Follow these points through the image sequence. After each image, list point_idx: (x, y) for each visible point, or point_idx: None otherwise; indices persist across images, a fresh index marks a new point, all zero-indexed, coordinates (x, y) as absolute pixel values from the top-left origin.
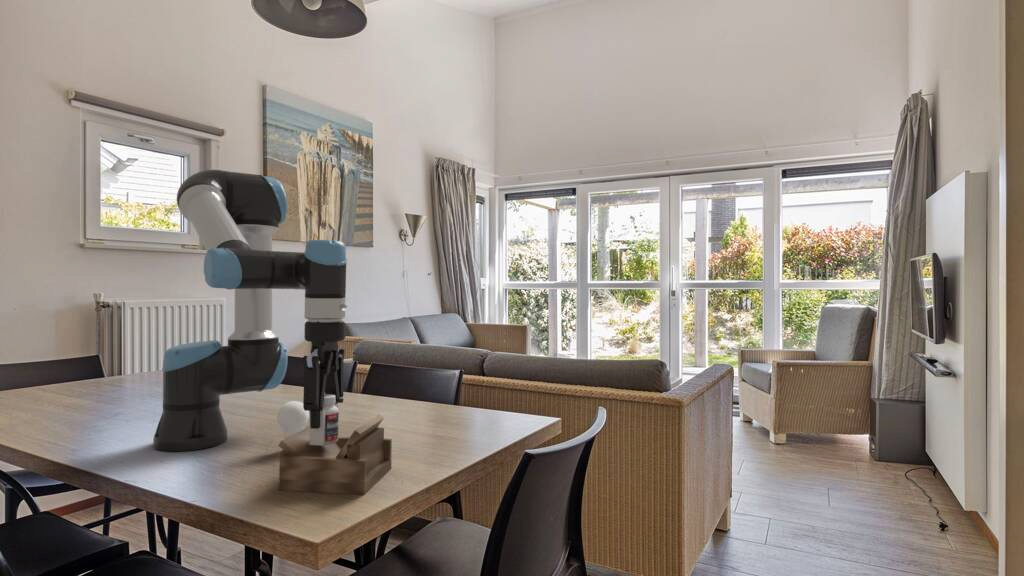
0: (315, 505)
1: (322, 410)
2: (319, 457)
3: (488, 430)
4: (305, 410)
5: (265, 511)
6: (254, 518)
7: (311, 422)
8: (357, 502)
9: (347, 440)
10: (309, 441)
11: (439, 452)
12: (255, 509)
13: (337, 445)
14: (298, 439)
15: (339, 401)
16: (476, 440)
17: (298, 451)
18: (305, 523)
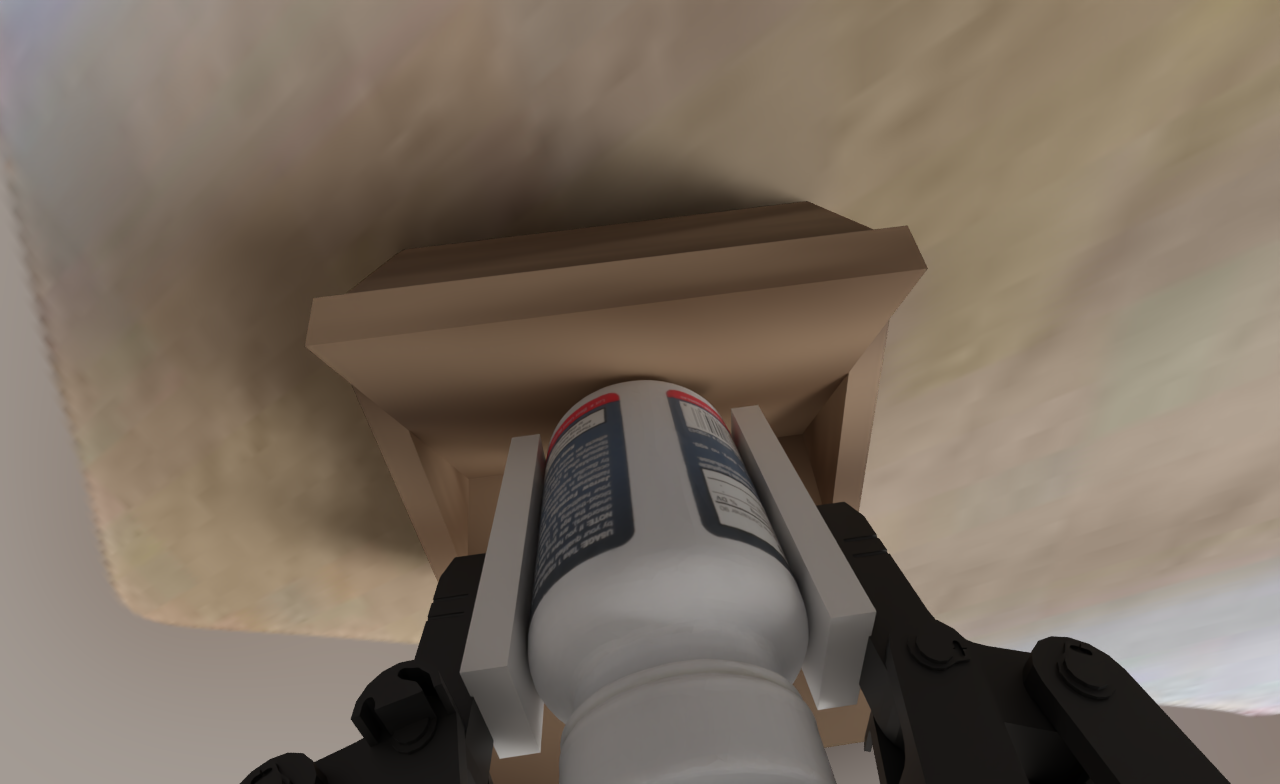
0: (337, 484)
1: (511, 746)
2: (438, 519)
3: (1257, 614)
4: (399, 668)
5: (168, 356)
6: (85, 361)
7: (434, 612)
8: (432, 576)
9: (832, 454)
10: (509, 451)
11: (989, 580)
12: (151, 301)
13: (795, 404)
14: (522, 356)
15: (865, 736)
16: (1126, 622)
17: (413, 411)
18: (193, 535)
